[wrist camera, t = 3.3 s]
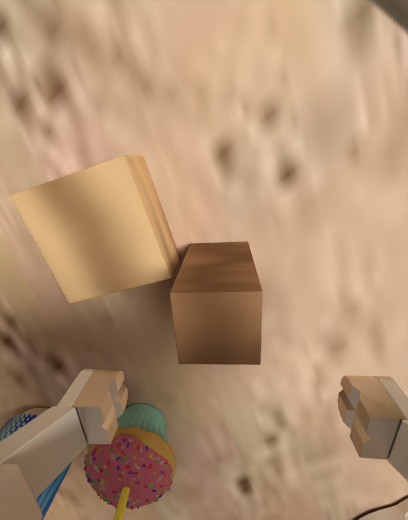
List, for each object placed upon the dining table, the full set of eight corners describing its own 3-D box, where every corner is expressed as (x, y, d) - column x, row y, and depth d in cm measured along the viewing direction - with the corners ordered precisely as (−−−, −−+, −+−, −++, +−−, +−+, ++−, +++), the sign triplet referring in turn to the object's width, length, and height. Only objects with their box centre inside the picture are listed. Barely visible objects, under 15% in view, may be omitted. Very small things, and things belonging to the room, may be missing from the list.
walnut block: (247, 241, 19) (262, 291, 12) (247, 292, 21) (260, 364, 14) (190, 243, 20) (169, 293, 12) (194, 293, 21) (178, 363, 14)
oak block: (145, 156, 18) (124, 155, 14) (180, 257, 21) (171, 278, 17) (50, 189, 19) (9, 195, 16) (95, 279, 22) (69, 303, 18)
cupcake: (121, 379, 26) (43, 545, 15) (195, 410, 27) (175, 589, 15) (98, 427, 29) (19, 594, 18) (165, 453, 30) (130, 629, 19)
